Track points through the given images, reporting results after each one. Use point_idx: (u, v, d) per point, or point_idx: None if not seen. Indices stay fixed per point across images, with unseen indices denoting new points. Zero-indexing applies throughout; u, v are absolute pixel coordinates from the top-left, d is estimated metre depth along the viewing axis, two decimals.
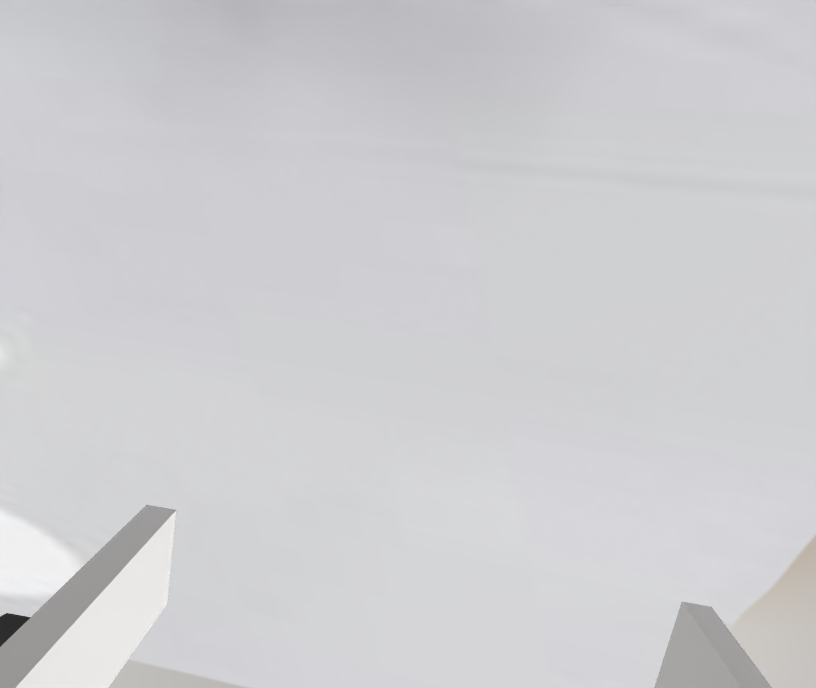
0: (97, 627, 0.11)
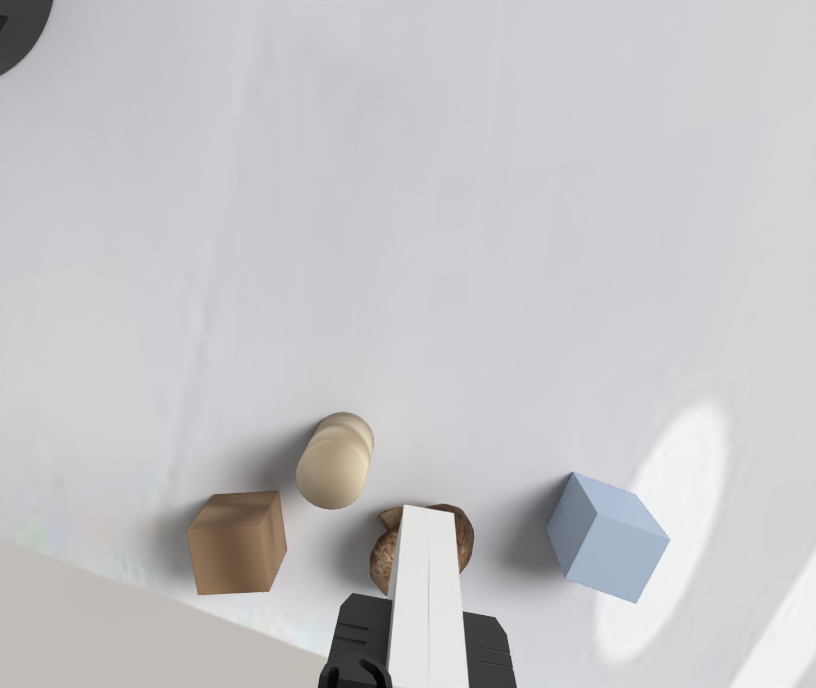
0: None
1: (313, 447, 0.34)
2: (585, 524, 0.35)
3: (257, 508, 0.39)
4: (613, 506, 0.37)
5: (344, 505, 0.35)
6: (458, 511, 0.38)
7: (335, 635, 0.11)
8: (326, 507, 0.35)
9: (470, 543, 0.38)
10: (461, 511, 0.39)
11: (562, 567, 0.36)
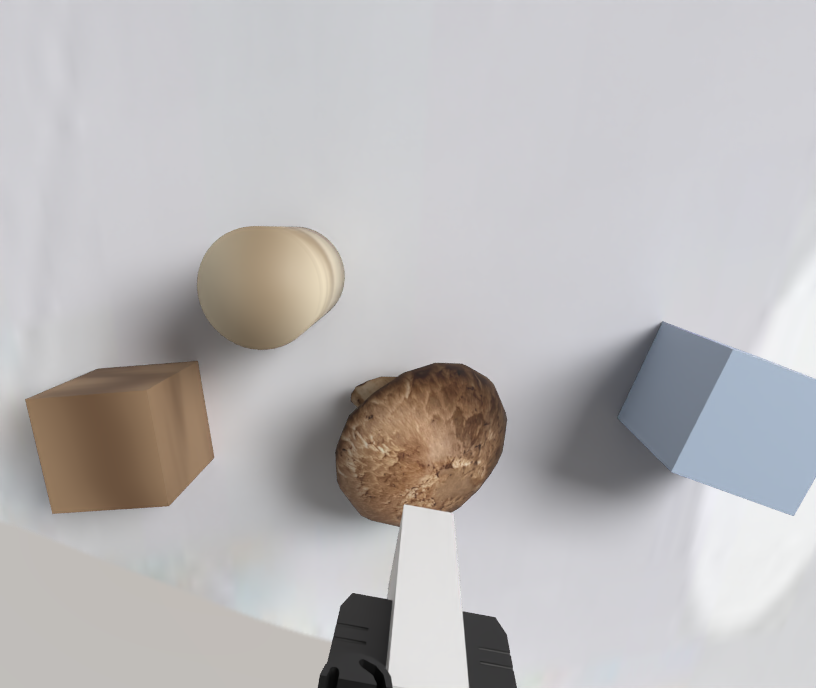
0: None
1: (227, 234, 0.19)
2: (705, 377, 0.20)
3: (154, 376, 0.24)
4: (747, 353, 0.22)
5: (284, 341, 0.20)
6: (481, 376, 0.23)
7: (335, 635, 0.11)
8: (253, 345, 0.20)
9: (502, 427, 0.23)
10: (486, 378, 0.24)
11: (661, 457, 0.21)
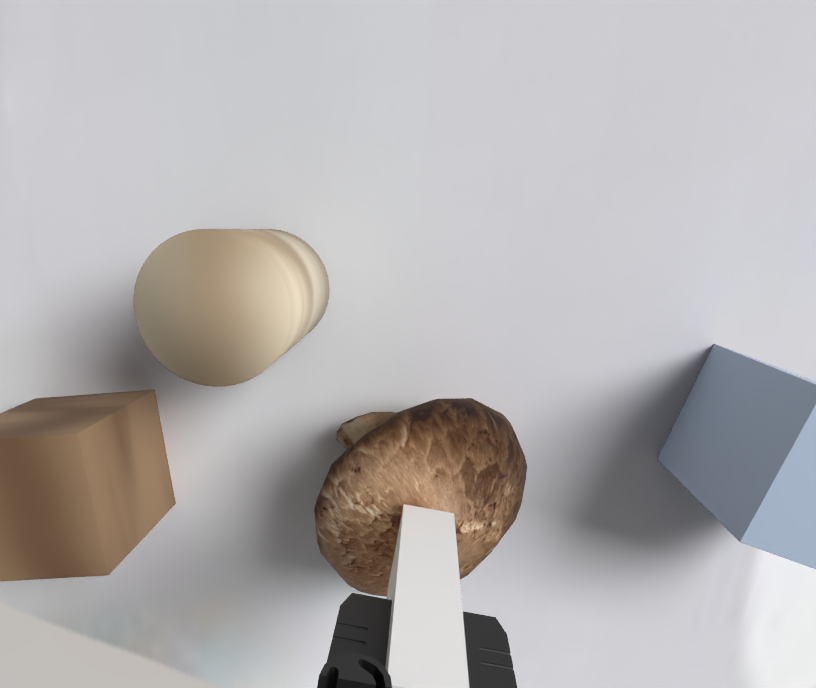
0: None
1: None
2: (783, 421, 0.16)
3: (95, 411, 0.20)
4: None
5: (246, 376, 0.16)
6: (496, 414, 0.19)
7: (335, 635, 0.11)
8: (206, 381, 0.16)
9: (522, 477, 0.19)
10: (501, 415, 0.19)
11: (724, 520, 0.17)
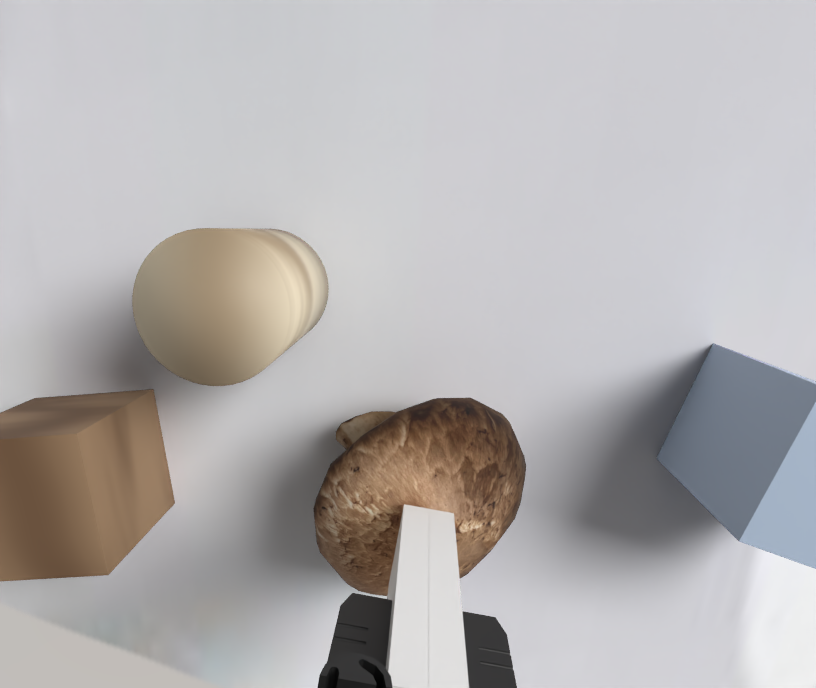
0: None
1: None
2: (782, 420, 0.16)
3: (94, 412, 0.20)
4: None
5: (245, 375, 0.16)
6: (495, 413, 0.19)
7: (335, 635, 0.11)
8: (205, 381, 0.16)
9: (521, 477, 0.19)
10: (500, 414, 0.19)
11: (723, 519, 0.17)
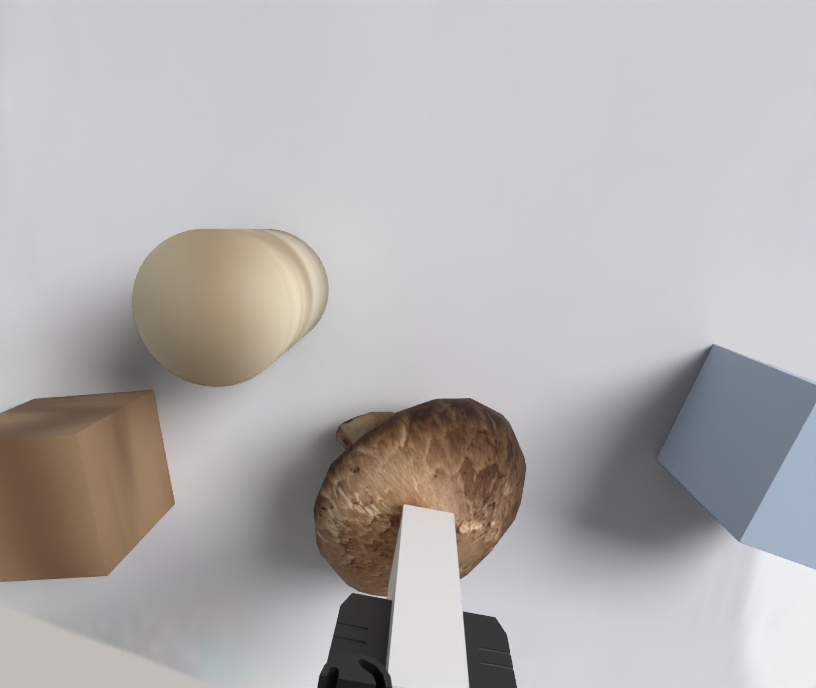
0: None
1: None
2: (783, 421, 0.16)
3: (94, 412, 0.20)
4: None
5: (245, 376, 0.15)
6: (495, 413, 0.19)
7: (335, 635, 0.11)
8: (205, 382, 0.16)
9: (521, 477, 0.19)
10: (500, 415, 0.19)
11: (723, 520, 0.17)
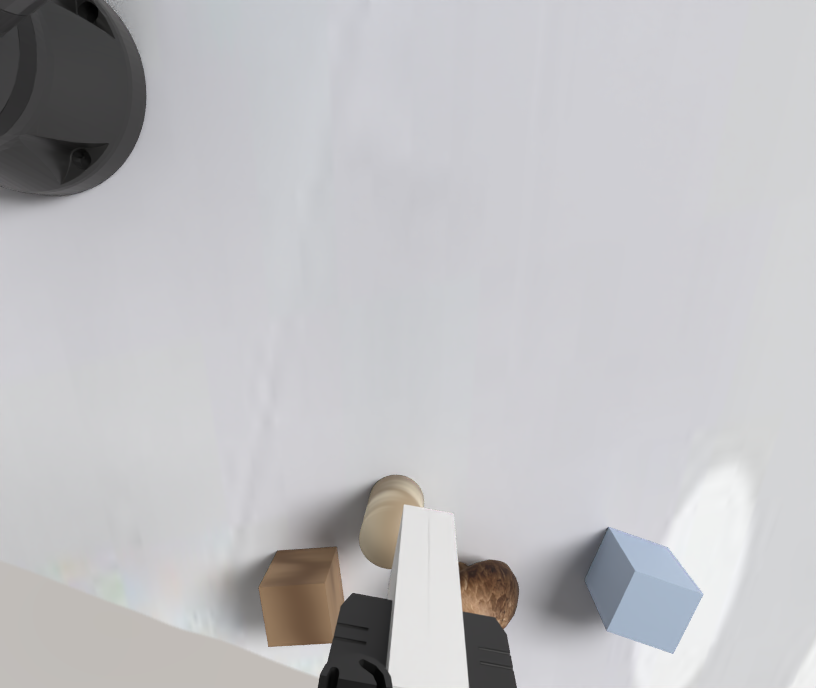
0: None
1: (375, 513, 0.38)
2: (623, 580, 0.39)
3: (320, 565, 0.43)
4: (648, 561, 0.40)
5: None
6: (504, 567, 0.42)
7: (335, 635, 0.11)
8: (386, 567, 0.39)
9: (516, 596, 0.41)
10: (506, 566, 0.42)
11: (603, 619, 0.40)
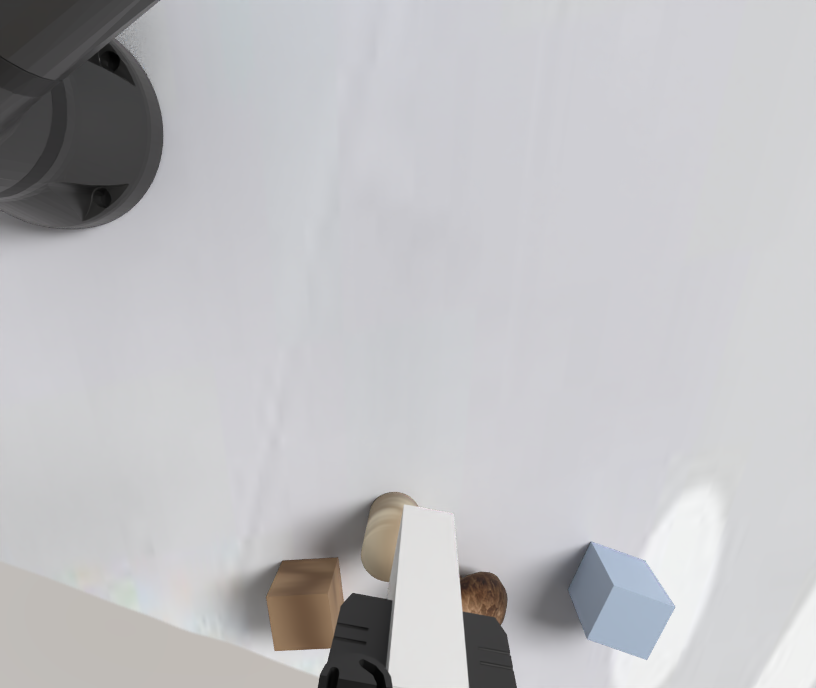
0: None
1: (376, 531, 0.41)
2: (603, 593, 0.42)
3: (323, 576, 0.46)
4: (626, 575, 0.43)
5: None
6: (494, 579, 0.45)
7: (335, 635, 0.11)
8: (386, 580, 0.42)
9: (505, 606, 0.45)
10: (496, 578, 0.45)
11: (584, 628, 0.43)
